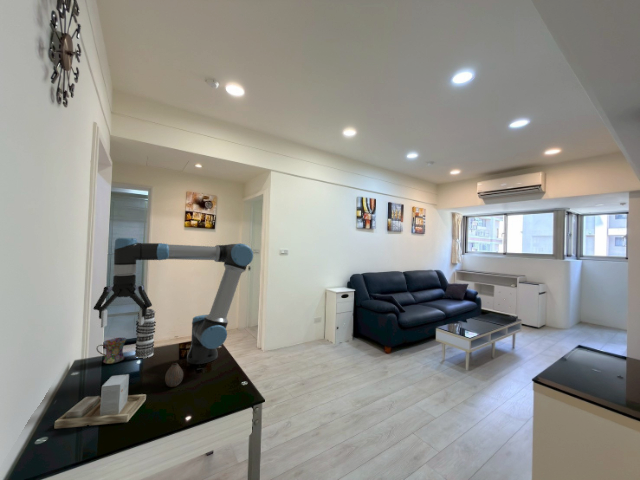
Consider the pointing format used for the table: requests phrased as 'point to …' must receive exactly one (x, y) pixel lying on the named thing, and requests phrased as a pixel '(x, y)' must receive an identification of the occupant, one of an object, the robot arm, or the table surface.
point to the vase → (174, 375)
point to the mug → (113, 350)
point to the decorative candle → (145, 335)
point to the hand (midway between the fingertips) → (122, 325)
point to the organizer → (98, 412)
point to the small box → (114, 395)
